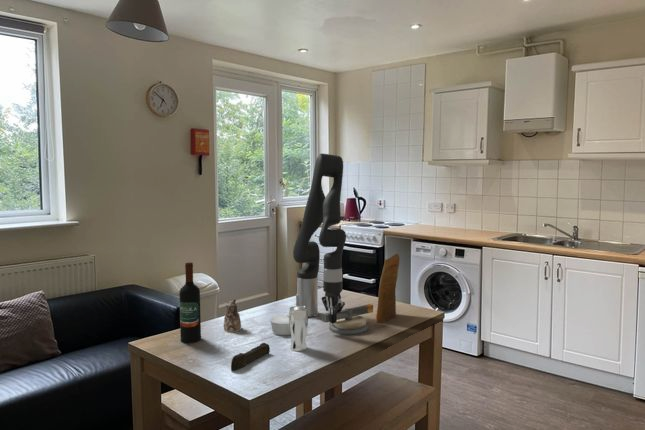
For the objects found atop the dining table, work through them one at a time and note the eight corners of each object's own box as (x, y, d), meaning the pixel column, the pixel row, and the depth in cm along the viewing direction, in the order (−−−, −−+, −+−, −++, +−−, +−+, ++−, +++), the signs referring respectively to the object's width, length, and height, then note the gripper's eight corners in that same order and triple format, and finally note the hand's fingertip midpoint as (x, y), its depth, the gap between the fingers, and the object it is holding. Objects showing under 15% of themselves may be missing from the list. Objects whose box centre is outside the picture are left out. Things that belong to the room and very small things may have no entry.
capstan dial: (314, 325, 198) (314, 310, 198) (360, 314, 213) (360, 300, 212) (334, 334, 187) (334, 318, 186) (382, 322, 201) (382, 308, 201)
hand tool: (261, 352, 174) (261, 339, 174) (270, 354, 172) (270, 341, 172) (225, 370, 158) (224, 357, 158) (234, 373, 156) (233, 359, 156)
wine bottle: (204, 337, 188) (203, 261, 186) (193, 344, 181) (191, 265, 179) (188, 335, 191) (186, 260, 188) (176, 341, 184) (174, 264, 181)
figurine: (219, 330, 197) (219, 301, 196) (230, 325, 204) (230, 297, 202) (233, 333, 194) (233, 303, 193) (244, 327, 200) (244, 299, 199)
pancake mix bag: (403, 314, 219) (404, 253, 217) (384, 325, 204) (385, 260, 201) (390, 312, 223) (390, 252, 221) (370, 322, 207) (371, 258, 205)
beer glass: (305, 352, 173) (305, 311, 172) (286, 351, 174) (286, 310, 173) (309, 345, 180) (309, 306, 179) (291, 344, 181) (291, 305, 180)
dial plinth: (326, 333, 193) (326, 329, 193) (332, 321, 209) (332, 317, 209) (365, 335, 190) (365, 331, 190) (369, 323, 206) (369, 319, 206)
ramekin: (303, 331, 196) (303, 319, 195) (283, 338, 188) (283, 325, 187) (285, 325, 204) (285, 313, 203) (264, 332, 195) (264, 319, 195)
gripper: (350, 281, 186) (350, 325, 187) (330, 275, 197) (330, 317, 198) (335, 283, 182) (335, 328, 183) (315, 278, 193) (315, 320, 194)
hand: (333, 322), depth 191 cm, fingers closed
